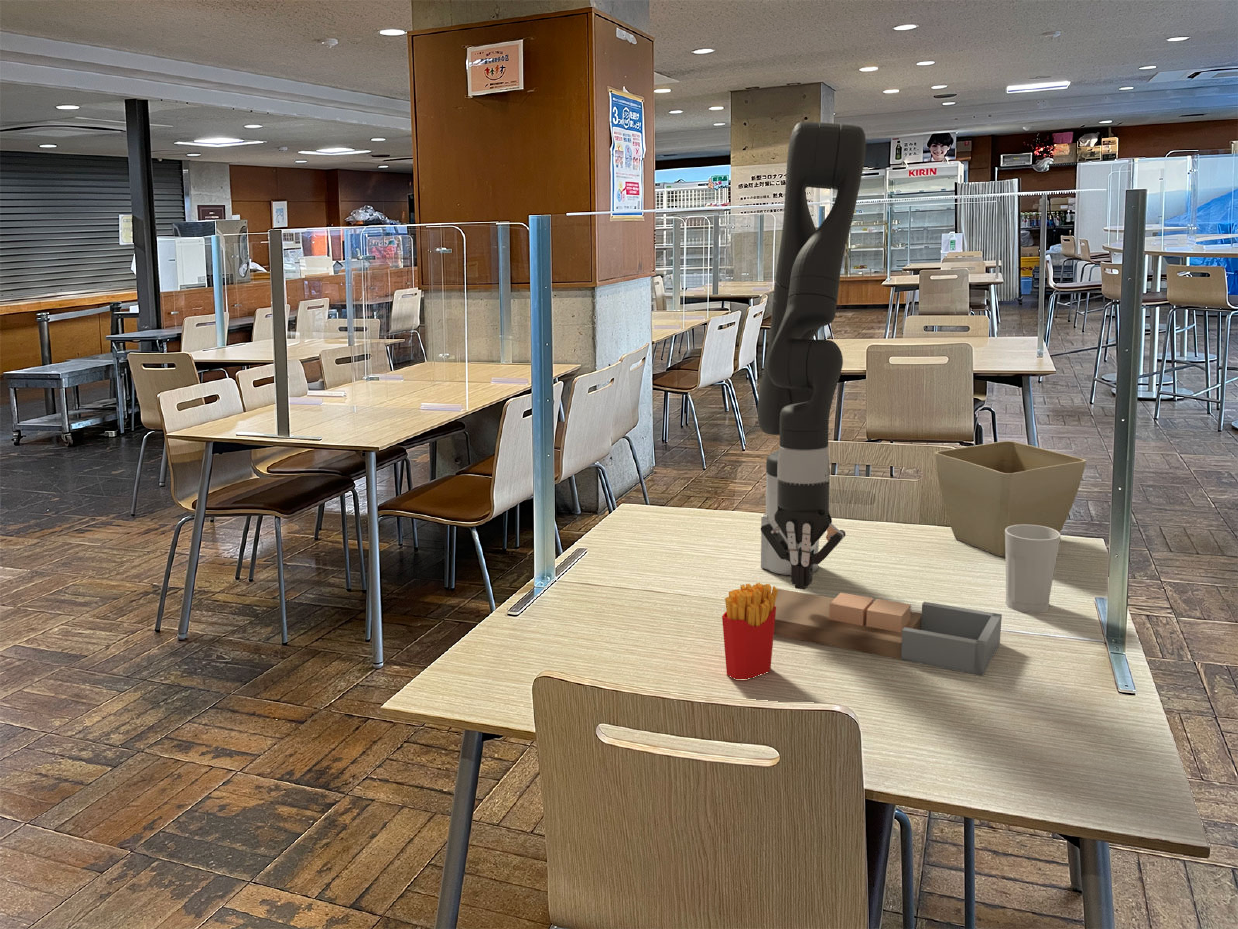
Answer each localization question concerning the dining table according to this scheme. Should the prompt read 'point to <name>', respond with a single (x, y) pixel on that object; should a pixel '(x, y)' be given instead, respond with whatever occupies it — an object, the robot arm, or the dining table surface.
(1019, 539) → the cup
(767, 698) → the dining table surface
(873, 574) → the dining table surface
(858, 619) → the tile
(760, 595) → the french fries
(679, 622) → the dining table surface
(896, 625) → the tile
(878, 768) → the dining table surface
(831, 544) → the robot arm
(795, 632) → the board
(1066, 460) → the flower pot
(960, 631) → the tray
